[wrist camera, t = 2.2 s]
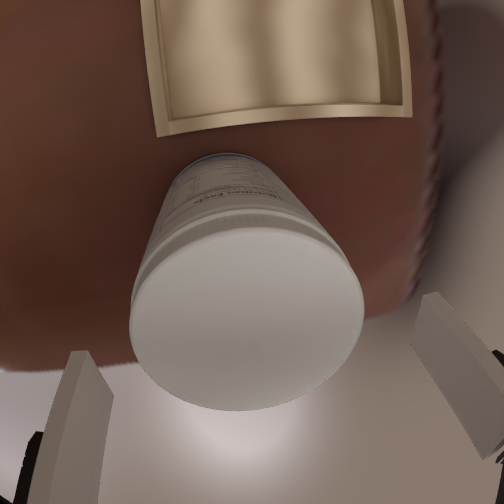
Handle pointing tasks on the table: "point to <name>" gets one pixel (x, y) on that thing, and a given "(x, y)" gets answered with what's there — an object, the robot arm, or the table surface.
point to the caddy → (274, 61)
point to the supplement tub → (241, 291)
